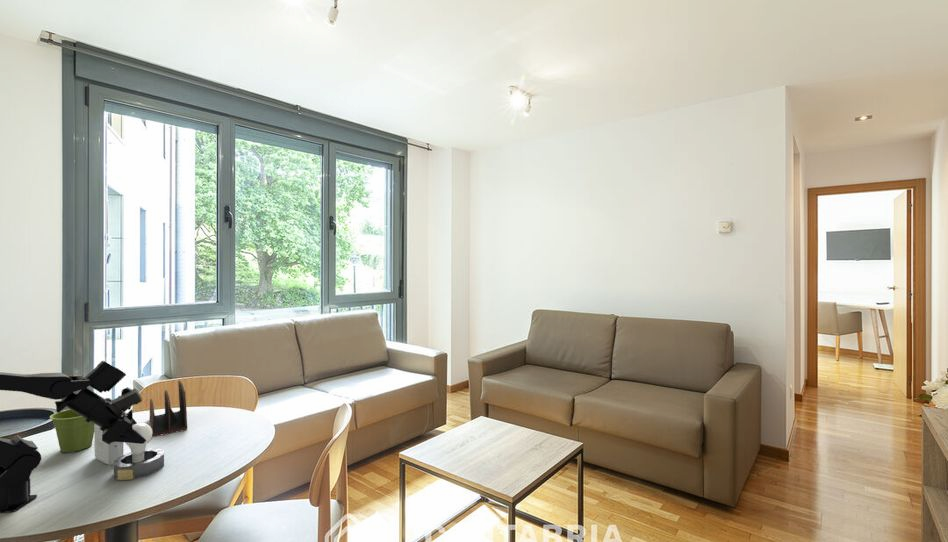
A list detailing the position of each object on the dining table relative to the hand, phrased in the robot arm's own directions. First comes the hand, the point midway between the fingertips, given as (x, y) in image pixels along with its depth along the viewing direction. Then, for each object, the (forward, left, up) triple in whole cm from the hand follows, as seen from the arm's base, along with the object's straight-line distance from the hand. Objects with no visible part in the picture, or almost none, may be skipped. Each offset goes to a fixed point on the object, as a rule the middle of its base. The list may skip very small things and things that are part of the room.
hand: (144, 438), depth 122 cm
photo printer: (+7, +14, -9) cm, 18 cm away
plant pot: (+17, +29, -9) cm, 35 cm away
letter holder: (+34, +11, -9) cm, 37 cm away
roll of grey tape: (-1, +1, -9) cm, 9 cm away
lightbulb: (-1, +1, -7) cm, 7 cm away
